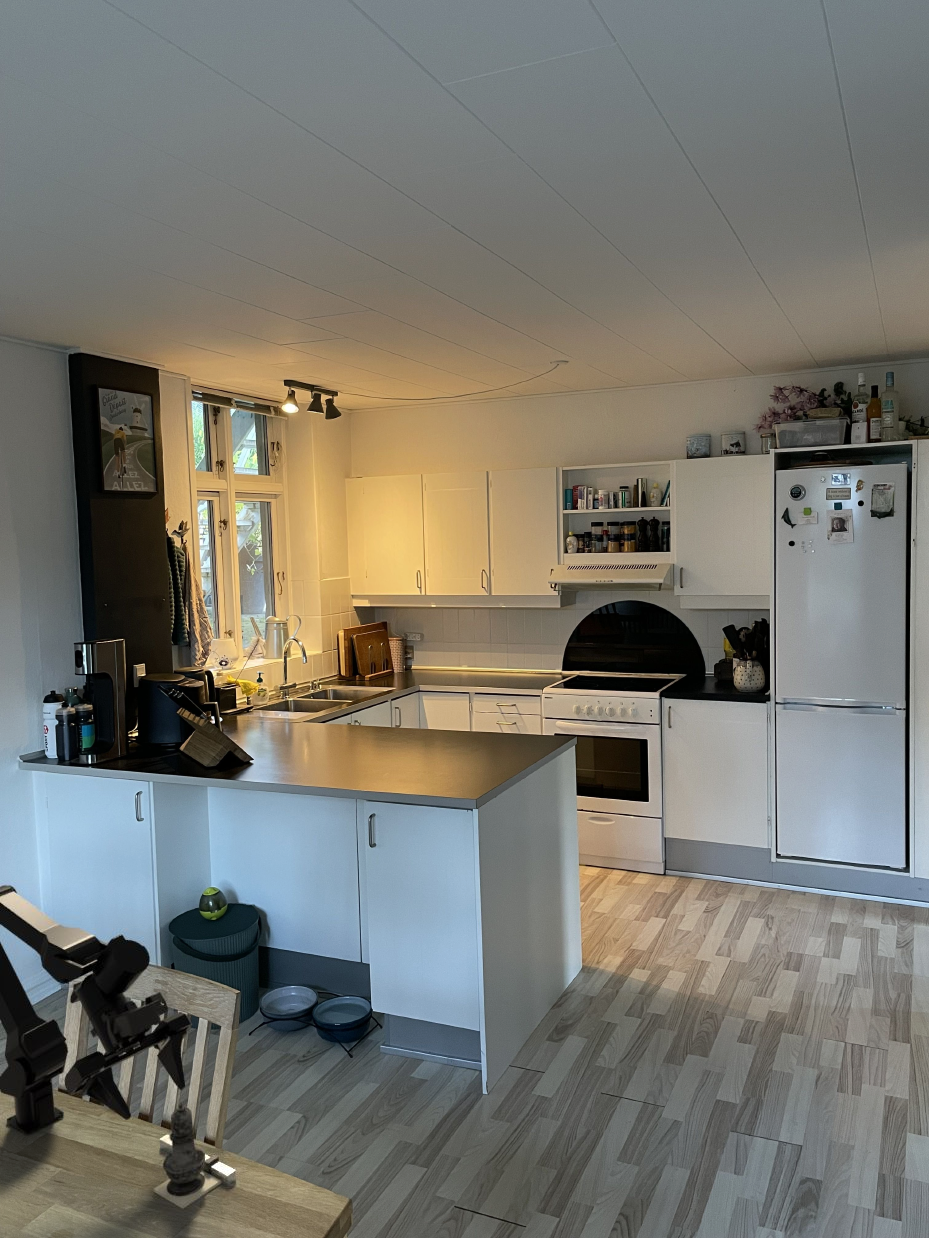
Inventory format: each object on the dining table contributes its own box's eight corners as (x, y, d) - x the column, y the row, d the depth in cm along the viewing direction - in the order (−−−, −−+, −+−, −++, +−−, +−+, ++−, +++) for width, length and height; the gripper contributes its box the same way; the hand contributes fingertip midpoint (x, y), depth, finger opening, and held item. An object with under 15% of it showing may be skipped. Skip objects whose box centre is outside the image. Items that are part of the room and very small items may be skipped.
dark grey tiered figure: (155, 1190, 138) (149, 1108, 138) (185, 1166, 143) (180, 1087, 143) (186, 1202, 136) (180, 1118, 135) (215, 1177, 141) (210, 1097, 140)
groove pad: (153, 1191, 139) (153, 1188, 139) (192, 1167, 144) (192, 1164, 144) (182, 1208, 135) (182, 1205, 135) (221, 1182, 140) (220, 1180, 140)
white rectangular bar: (158, 1148, 149) (157, 1136, 149) (169, 1142, 151) (168, 1130, 150) (226, 1185, 139) (226, 1172, 139) (237, 1178, 141) (236, 1165, 141)
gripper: (69, 1007, 137) (120, 1108, 131) (181, 960, 152) (231, 1048, 146) (43, 1046, 142) (91, 1144, 136) (153, 996, 157) (200, 1083, 151)
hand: (156, 1102), depth 142 cm, fingers open, 9 cm apart
